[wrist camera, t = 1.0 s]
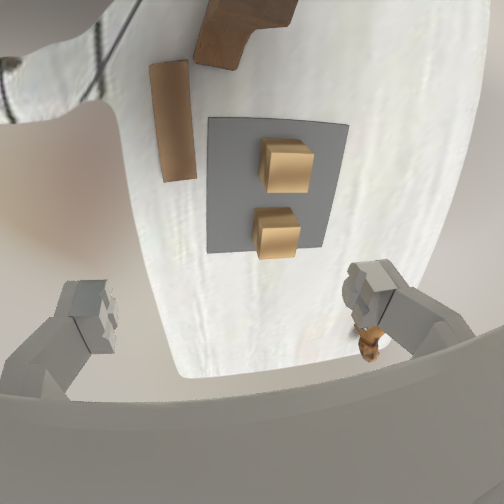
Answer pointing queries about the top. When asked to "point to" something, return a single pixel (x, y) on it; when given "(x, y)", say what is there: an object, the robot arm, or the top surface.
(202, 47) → the wooden block
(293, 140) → the cube
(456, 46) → the top surface
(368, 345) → the lion figurine
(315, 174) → the mat
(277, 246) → the cube
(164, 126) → the lintel
